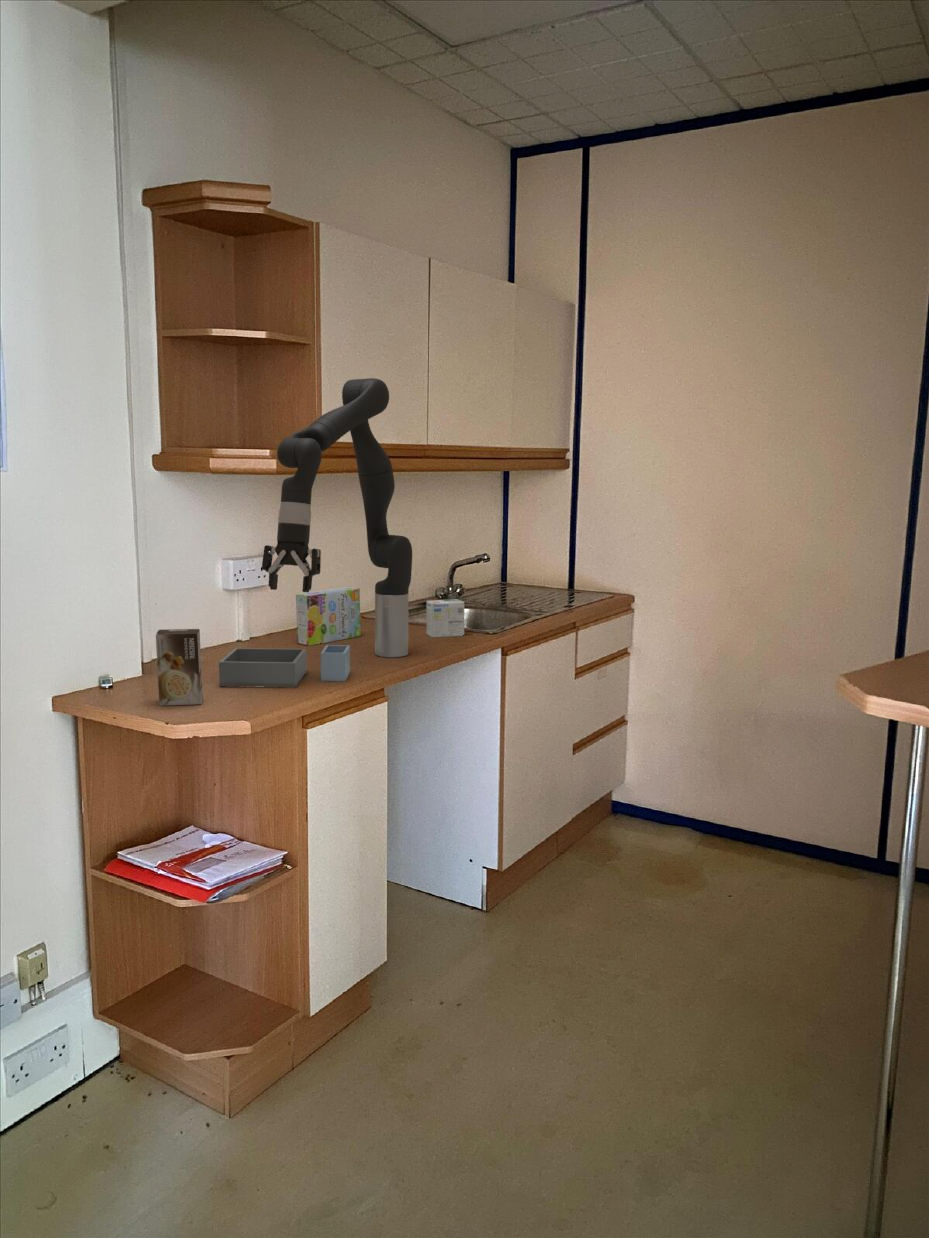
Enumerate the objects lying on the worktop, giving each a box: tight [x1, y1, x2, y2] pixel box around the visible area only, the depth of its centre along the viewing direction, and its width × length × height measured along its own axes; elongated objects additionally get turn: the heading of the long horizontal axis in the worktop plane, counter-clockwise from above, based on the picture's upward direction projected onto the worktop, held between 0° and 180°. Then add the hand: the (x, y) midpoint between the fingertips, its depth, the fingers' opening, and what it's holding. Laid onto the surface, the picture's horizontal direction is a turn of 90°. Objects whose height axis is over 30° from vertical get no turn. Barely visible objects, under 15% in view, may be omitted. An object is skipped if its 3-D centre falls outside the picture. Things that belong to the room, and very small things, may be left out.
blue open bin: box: [320, 644, 351, 682], centre depth 243 cm, size 10×6×7 cm, turn 0°
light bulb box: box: [425, 598, 465, 639], centre depth 301 cm, size 11×7×11 cm, turn 111°
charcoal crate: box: [218, 647, 308, 689], centre depth 239 cm, size 17×18×6 cm
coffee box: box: [155, 628, 204, 707], centre depth 216 cm, size 9×6×16 cm
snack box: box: [295, 586, 362, 647], centre depth 290 cm, size 21×6×15 cm, turn 141°
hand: (289, 590), depth 232 cm, fingers open, 8 cm apart
